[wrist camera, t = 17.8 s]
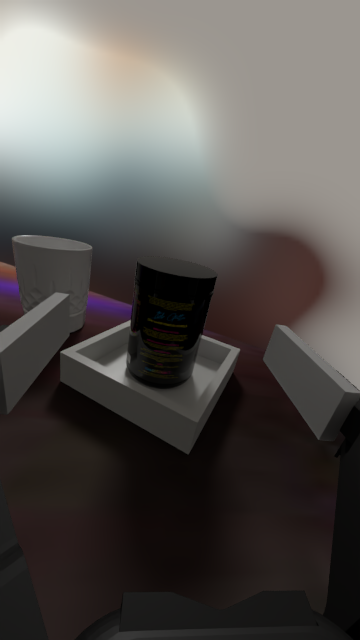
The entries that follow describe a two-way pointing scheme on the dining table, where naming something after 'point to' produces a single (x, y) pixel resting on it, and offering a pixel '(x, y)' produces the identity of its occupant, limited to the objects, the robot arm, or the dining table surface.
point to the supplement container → (167, 320)
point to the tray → (143, 401)
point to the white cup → (53, 272)
